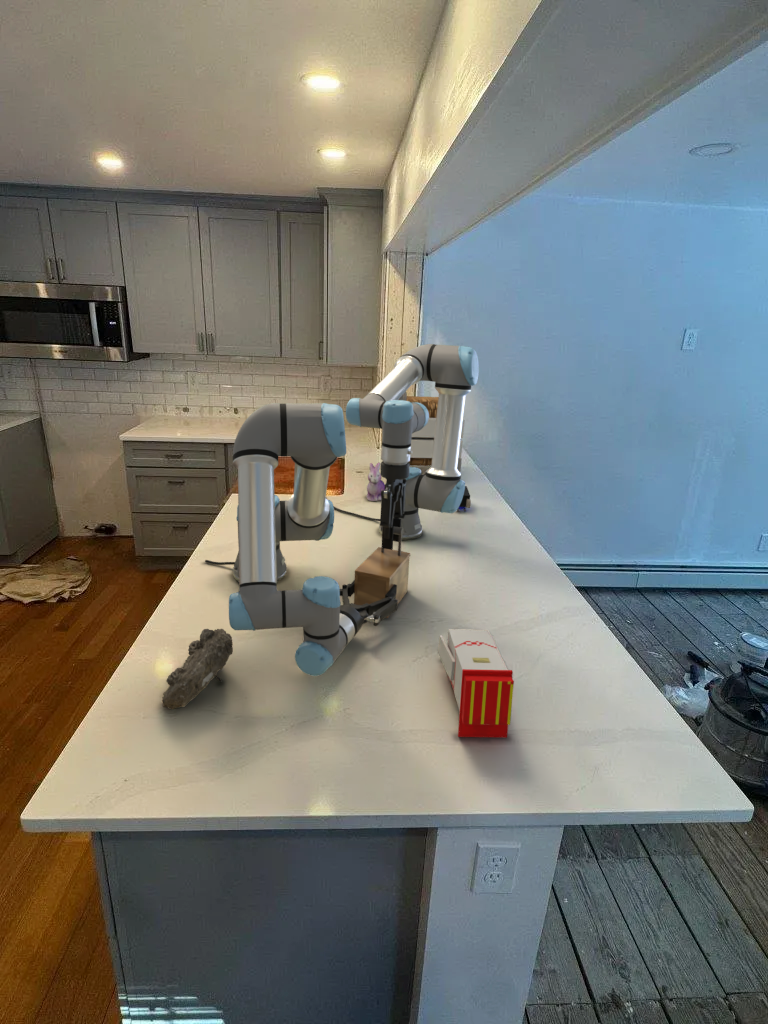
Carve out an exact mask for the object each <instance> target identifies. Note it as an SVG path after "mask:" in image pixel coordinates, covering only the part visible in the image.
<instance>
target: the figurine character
mask: <svg viewBox="0 0 768 1024" xmlns="http://www.w3.org/2000/svg"><path fill="white" fill-rule="evenodd" d="M471 501H472V500H471V494H470V491H469V488H468V486H467V485H465V491H464V495H463V498H462V501H461V503H460V506H459V508H458V509H457V511H456V512H460V510H463V511H464V513H466V512H467V509H470V508H471V505H472V504H471ZM466 508H467V509H466Z"/></svg>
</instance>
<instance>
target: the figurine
mask: <svg viewBox="0 0 768 1024" xmlns="http://www.w3.org/2000/svg"><path fill="white" fill-rule="evenodd" d="M380 470H381V462H378V463H376V465H375V466H374V464H373V462H370V463H369V473H368V475H367V480H368V481H369V482H368V483H367V485H366V492H367V493H366V495H365V496H366V499H367V501H371V502H378V501H381V491H382V490H385V484H386V483H385V482H384V481H383V480H382V476H381V474H380V473H381V471H380Z"/></svg>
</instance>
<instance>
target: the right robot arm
mask: <svg viewBox="0 0 768 1024" xmlns="http://www.w3.org/2000/svg"><path fill="white" fill-rule="evenodd" d="M479 372H480V366H479V357H478V353H477V351H476V350H475V348H474V347H470V346H464V345H451V344H450V345H449V344H436V343H435V344H434V343H427V344H422V345H419V346H416V347H413V348H411V349H409V350H408V351H406V352H404V353H403V354H401V356H399V357H398V358H397V359H396V361H395V362H394V365H393V368H392V369H391V370H390V371H389V372H388V373H387V374H386V375H385V376H384V377H383V378H382V379H381V380H380V381H379V382H378V383H377V384H376V385H375V386H374V387H373V388H372V389H371V390H370V391H369V392H368V393H367V394H366V395H365V396H364V397H363V398H361V397H352V398H350V399H349V400H348V401H347V404H346V406H345V418H346V421H347V423H348V424H349V425H352V426H357V427H360V428H362V427H363V428H372V429H379V430H382V431H381V448H380V460H381V462H380V474H381V478H384V479H385V483H384V484H385V490H382V491H381V500H380V518H374V517H370V516H365V515H362V514H359V513H355V512H350V511H348V510H343V509H341V508H338V507H336V506H334V505H333V507H334V511H338V512H341V513H344V514H346V515H350V516H355V517H358V518H361V519H365V520H369V521H373V522H374V521H375V522H379V525H378V533H379V534H380V535H381V536H382V532H381V526H383V542H382V541H381V546H382V548H384V549H390V550H394V549H393V548H394V542H398V541H399V535H397V534H393V533H394V526H395V527H401V528H403V534H402V541H410V540H415V539H418V538H420V537H421V536H422V535H423V525H422V524H421V518H420V515H419V509H420V510H427V511H433V512H438V513H441V514H443V513H444V514H454V513H456V512H458V511H457V509H458V508H459V506H460V503H461V501H462V498H463V495H464V491H465V486H466V481H464V480H463V479H461V478H462V473H460V472H459V471H458V470H457V464H458V455H459V447H460V439H462V438H461V429H462V421H463V419H464V412H465V403H466V396H467V395H468V394H469V393H471V392H472V387H473V386H476V385H477V384H478V378H479V375H480V373H479ZM419 382H434V389H435V391H436V392H437V393H438V396H437V397H438V407H437V416H436V426H435V436H434V445H433V455H432V465H430V466H429V468H427V469H426V471H425V474H422V470H421V468H419V467H416V466H410V464H409V463H408V462H409V461H410V455H411V454H412V451H410V449H411V437H412V433H414V432H417V431H419V430H421V429H422V428H423V427H424V426H425V425H426V424H427V423H428V420H429V413H428V410H427V408H426V407H425V406H424V405H423V404H421V403H418V402H415V403H414V402H412V403H411V402H409V401H404V400H398V399H399V398H400V397H401V396H402V395H403V394H404V393H405V392H406V393H407V391H408V389H410V387H411V386H413V385H416V384H418V383H419Z"/></svg>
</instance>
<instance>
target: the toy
mask: <svg viewBox="0 0 768 1024" xmlns="http://www.w3.org/2000/svg"><path fill="white" fill-rule="evenodd" d="M446 640H447V643H446V641H445V639H444V636H443V635H442V634H439V637H438V646H437V656H438V657H439V659H440V661H441V663H442V666H443V668H444V670H445V672H446V674H447V677H448V679H449V681H450V684H451V687H452V690H453V693H454V697H455V701H456V705H457V708H458V711H459V714H458V715H459V716H458V730H457V731H458V732H457V737H458V738H508V731H509V726H510V725H511V717H512V707H513V697H514V696H513V695H514V684H515V680H514V679H513V673H514V671H513V670H512V669H508V667H507V665H506V662H505V661H504V659H503V658H502V655H501V653H500V651H499V649H498V647H497V643H496V639H495V637H494V635H493V634H491V632H490V631H489V629H467V628H466V629H465V628H463V629H461V628H460V629H459V628H448V630H447V639H446Z"/></svg>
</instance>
